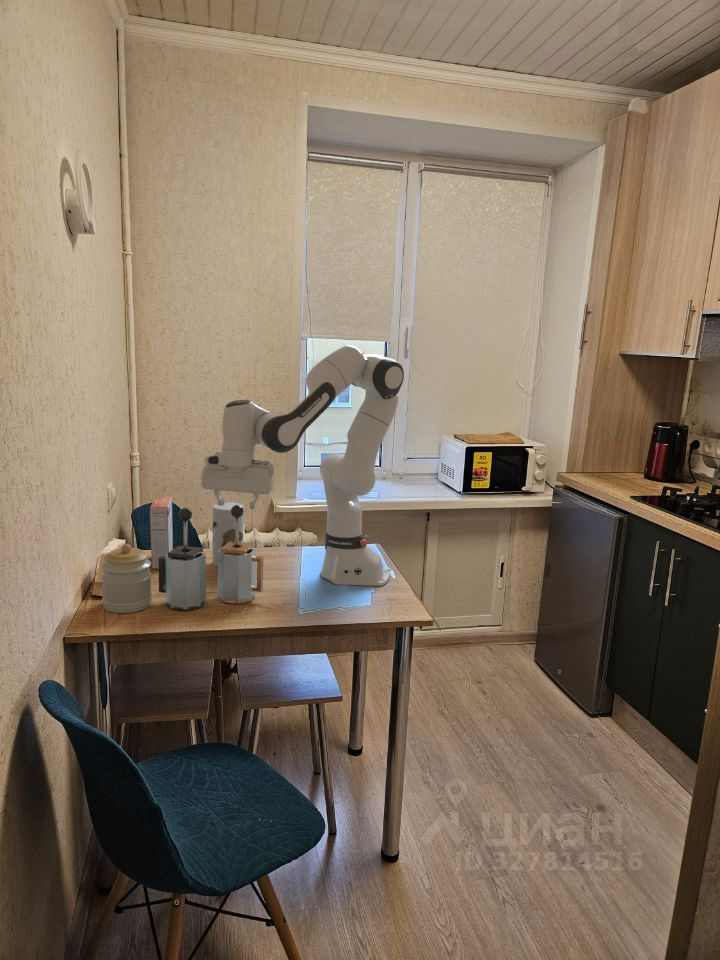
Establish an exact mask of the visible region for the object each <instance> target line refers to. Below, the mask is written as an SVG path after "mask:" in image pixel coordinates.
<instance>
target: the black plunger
mask: <svg viewBox="0 0 720 960" xmlns="http://www.w3.org/2000/svg"><path fill="white" fill-rule="evenodd" d="M178 517H179V519H180V520H181V521H182V522H183V546H184V552H188V548H187V546H188V521H190V520H191V519H192V517H193V512H192V510H191V509H190V508H189V507H183V508H181V509H180V510H179V512H178ZM184 560H188V559H184Z"/></svg>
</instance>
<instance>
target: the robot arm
mask: <svg viewBox="0 0 720 960" xmlns="http://www.w3.org/2000/svg"><path fill="white" fill-rule="evenodd" d="M404 378H405V371H404V368H403V366H402V364H401V363H400V362H398V361H397V360H395V359H393V358H390V357H389V358H388V357H386V356H382V355H379V354H368V353H364V352H362V351H361V350H360V349H358V347H356V346H354V345H343V346H342V347H340V348H338V349H336V350H335V351H333V352H331V353H330V354H328V355H327V356H325V357H324V358H322V359H321V360H320V361H319V362H318V363H316V364H315V365H314V366H312V368H311V369H310V370H309V372H308V374H307V375H306V387H307V390H308V391H309V393H308V394H307V396H306V397H304V399H302V401H300V402H299V403H298V405H296V406H295V407H294V408H293V409H292V410H291V411H290V412H288V413H285V414H284V413H283V414H277V413H275V412H271V411H269V410H266V409H264V408H262V407H260V406H258V405H256V404H255V403H254V402H253V401H252V400H249V399H238V400H237V399H236V400H233V401H230V402H227V404H226V405H225V407H224V408H223V414H222V429H221V430H222V431H221V433H222V437H223V440H222V441H223V442H222V446H221V451H218V452H215V453H212V454H209V455H207V456H206V457H205V458H204V463H205V464H204V466H203V468H202V472H201V479H200V483H201V487H202V488H203V489H204V490H210V491H211V490H213V494H214V496H215V498H216V499H217V504H218V505H219V506H223V505H224V504H225V503H226V502H225V498H222V495H221V493H222V491H225V492H234V493H235V492H236V493H246V494H247V493H248V494H253V498H254V499H253V501H250V502H249V509H252V510H253V509H254V510H255V509H256V508H257V503H258V501H259V499H260V498H261V496H262V495H269V494H271V493H272V492H273V490H274V477H273V476H274V473H275V468H274V465H273V464H272V462H269V461H268V460H260V459H259V460H258V459H255V446H256V445H260V446H263V447H266V448H268V449H270V450H272V451H274V452H276V453H279V454H284V453H288V452H290V451H292V450H293V449H294V448H295V447H297V445H298V443H299V442H300V440H301V438H302V437H303V434H304V433H305V432H306V431H307V429H308V428H309V427H310V426H312V424H313V423H314V422H315V421H316V420H317V419H318V418H319V417H320V416H321V415H322V414H324V412H325V411H326V410H327V409H328V408H329V407H330V406H331V404H332V403H334V401H335V399H336V398H337V397H338V396H340V395H341V394H342V393H343V392H344V391H345V390H346V389H348V388H349V387H350V386H351V385H353V386H354V387H356V388H357V387H358V388H360V389H363V390H365V397H364V400H363V402H362V404H361V406H360V407H359V409H358V411H357V413H356V415H355V417H354V419H353V421H352V423H351V425H350V427H349V429H348V431H347V434H346V436H347V444H346V448H345V449H346V450H345V454H343V453H332V454H328V455H326V456H325V457H324V458H323V459H322V461H321V462H320V465H319V474H320V476H321V478H322V481H323V487H324V488H323V489H324V495H325V500H326V507H327V512H326V513H327V517H326V518H327V519H326V520H327V521H326V522H327V523H326V531H325V534H324V550H325V551H324V552H325V553H324V558H323V564H322V567H321V570H320V574H319V575H320V576H321V577H322V578H323V579H326V580H327V581H330V582H331V583H332V584H334V585H340V586H341V585H342V586H343V585H344V586H370V587H371V586H372V587H373V586H374V587H375V586H376V587H377V586H378V587H380V586H383V585H385V584H387V583H388V582H389V580H390V572H389V570H387V569H386V568H385V569H384V564H383V559H382V558H381V556H380V555H379V554H378V553H377V552H375V551H374V550H373V549H372V548H370V546H369V545H368V535H367V534H365V535H364V534H363V533H362V521H363V520H362V519H363V511H362V510H363V509H362V506H361V504H360V502H359V497H361V496H362V497H363V496H366V495H368V494H369V493H371V491H372V490H373V489H374V486H375V484H376V474H375V468H376V467H375V465H376V461H377V456H378V453H379V449H380V446H382V443H383V441H384V440H385V439H384V438H385V437H386V434H387V432H388V430H389V428H390V426H391V424H392V422H393V419H394V416H395V413H396V410H397V407H398V404H399V397H398V395H397V394H398V393H399V392H400V390H401V387H402V385H403V384H404V383H403V382H404Z"/></svg>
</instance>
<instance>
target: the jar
mask: <svg viewBox="0 0 720 960" xmlns="http://www.w3.org/2000/svg"><path fill="white" fill-rule="evenodd" d="M148 557H149V555H148V553H147V552H146V551H143V550H142V549H141V548H136V547H132V546H131V545H130V544H129V543H124V544H122V545H121V547H119V548H117V549H113V550H111V551H109V553H107V554H106V555H105V556H103V559H104V562H103V563H101V565H100V568H101V570H103V574H102V576H101V581H102V584H101V585H102V599H101V600H102V605H103V608H104V609H105V610H106V611H108V612H111V613H117V614H127V613H128V614H129V613H136V612H139V611H143V610H145V609H147V608H148V607H150V605H151V604H152V600H153V595H152V572H150V567H152V561H151V560H150V559H148Z"/></svg>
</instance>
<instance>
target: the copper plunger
mask: <svg viewBox="0 0 720 960" xmlns="http://www.w3.org/2000/svg"><path fill="white" fill-rule="evenodd" d="M244 512H245V511H244V510H243V508H242V506H240V505H235V506H233V507H232V508H231V514H232V516H233V517H235V547H237V548H239V517H241V516H242V515H243V513H244ZM244 514H245V513H244ZM235 555H239V554H235Z"/></svg>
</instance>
